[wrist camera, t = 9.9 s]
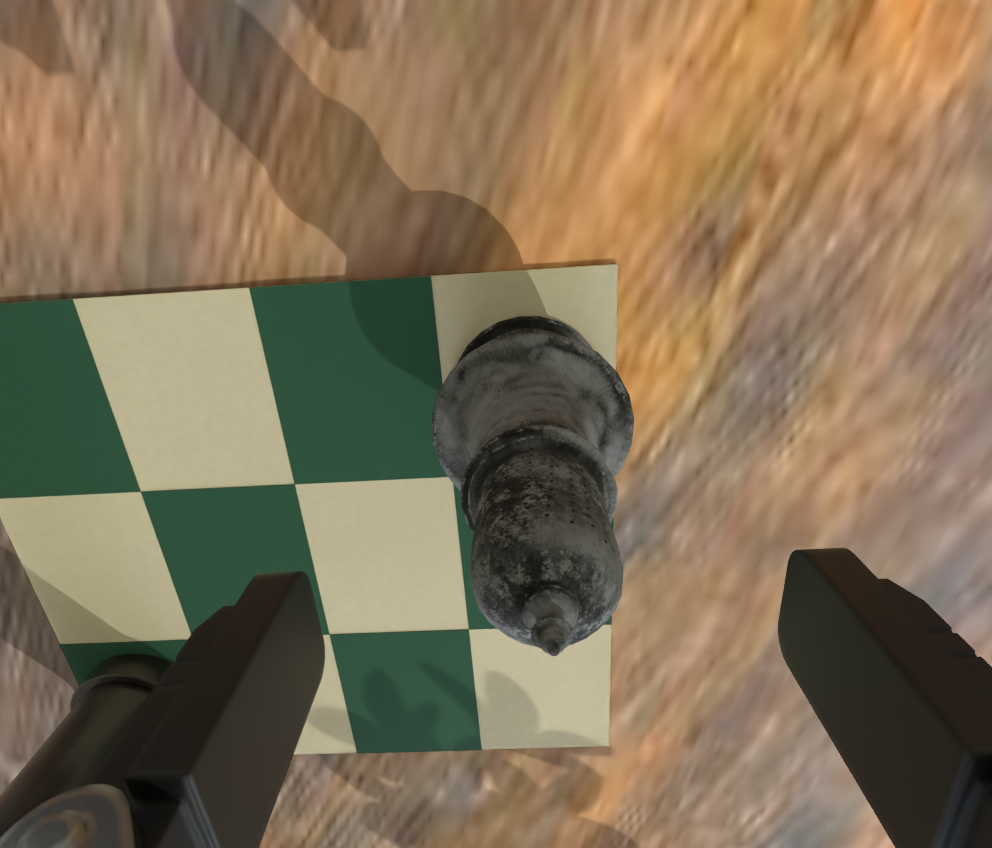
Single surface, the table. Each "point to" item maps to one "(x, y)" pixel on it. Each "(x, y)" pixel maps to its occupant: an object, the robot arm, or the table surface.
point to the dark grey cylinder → (83, 733)
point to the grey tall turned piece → (537, 477)
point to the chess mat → (287, 491)
